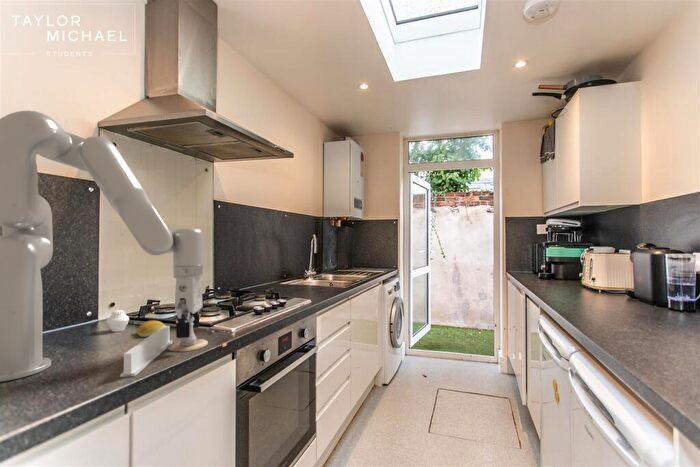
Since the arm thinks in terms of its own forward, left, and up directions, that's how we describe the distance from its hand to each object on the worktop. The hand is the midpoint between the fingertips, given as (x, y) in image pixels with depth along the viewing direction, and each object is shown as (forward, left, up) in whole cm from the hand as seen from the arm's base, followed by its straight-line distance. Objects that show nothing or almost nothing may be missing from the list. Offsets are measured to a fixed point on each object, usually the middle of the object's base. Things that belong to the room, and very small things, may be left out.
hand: (188, 332), depth 95 cm
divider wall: (-7, -8, -4) cm, 11 cm away
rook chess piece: (0, 0, -4) cm, 4 cm away
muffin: (-28, +22, -4) cm, 36 cm away
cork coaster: (0, 0, -4) cm, 4 cm away
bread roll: (-16, +16, -4) cm, 23 cm away
